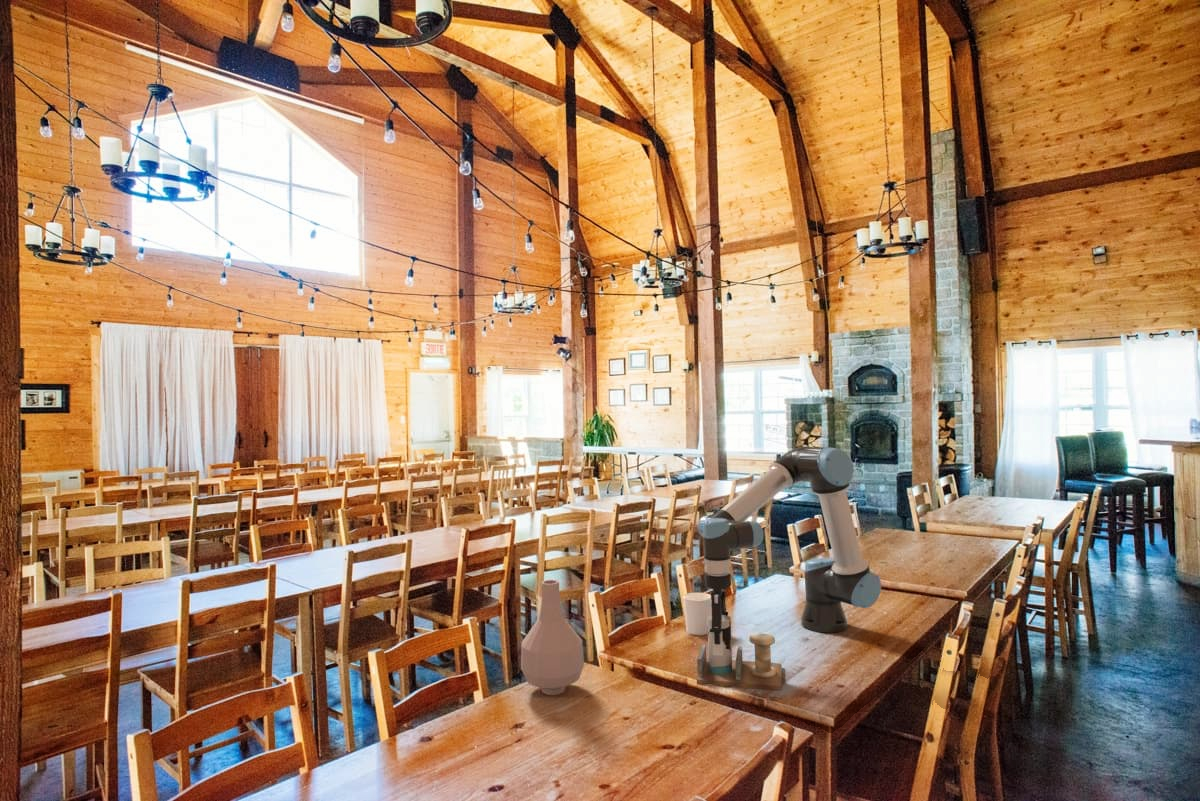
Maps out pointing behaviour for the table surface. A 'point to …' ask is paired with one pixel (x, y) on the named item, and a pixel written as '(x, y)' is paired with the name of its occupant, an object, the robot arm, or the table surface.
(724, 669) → the cup
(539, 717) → the table surface
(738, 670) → the winding board
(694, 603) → the candle holder
